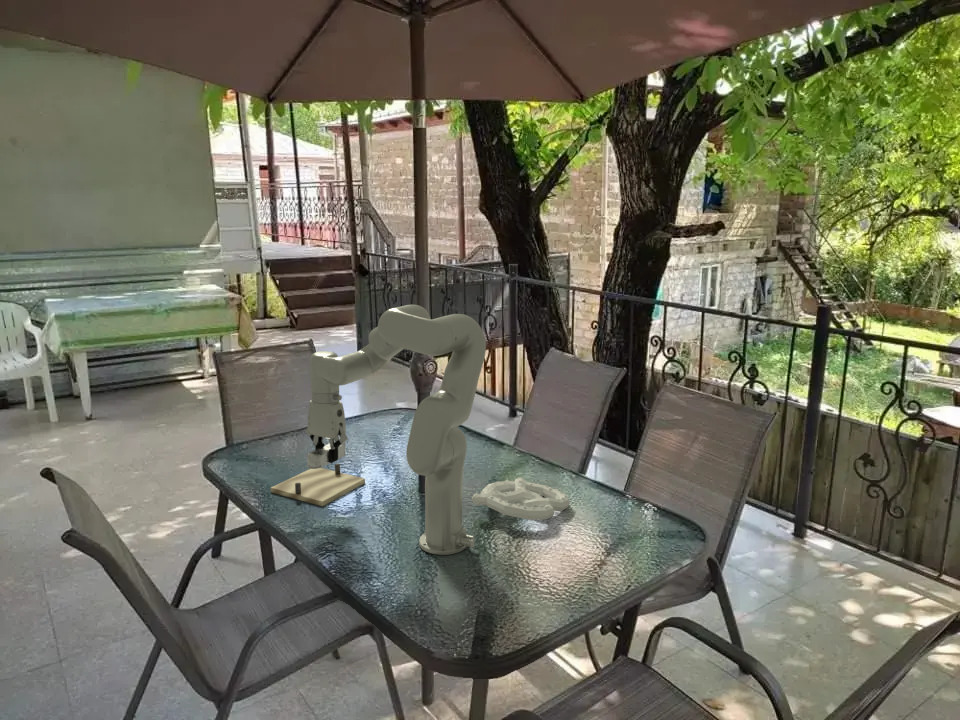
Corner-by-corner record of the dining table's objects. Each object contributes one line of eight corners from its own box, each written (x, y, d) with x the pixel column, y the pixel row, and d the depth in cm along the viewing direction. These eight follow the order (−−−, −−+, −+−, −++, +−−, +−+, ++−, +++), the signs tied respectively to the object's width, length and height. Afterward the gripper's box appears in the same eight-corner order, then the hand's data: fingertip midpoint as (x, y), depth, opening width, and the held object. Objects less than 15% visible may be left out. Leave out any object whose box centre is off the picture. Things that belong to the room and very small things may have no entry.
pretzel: (508, 488, 221) (511, 469, 220) (577, 509, 209) (580, 488, 208) (459, 509, 197) (462, 486, 196) (534, 533, 185) (537, 510, 184)
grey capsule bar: (348, 454, 201) (348, 442, 200) (316, 469, 189) (315, 457, 188) (337, 451, 203) (336, 440, 202) (304, 467, 191) (304, 454, 190)
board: (365, 482, 220) (364, 469, 219) (322, 506, 202) (321, 491, 201) (315, 470, 229) (315, 457, 228) (270, 492, 212) (270, 478, 211)
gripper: (358, 398, 191) (359, 461, 195) (310, 389, 199) (312, 450, 203) (341, 404, 185) (342, 470, 189) (292, 395, 192) (294, 458, 196)
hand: (326, 459), depth 196 cm, fingers closed on grey capsule bar, 4 cm apart
